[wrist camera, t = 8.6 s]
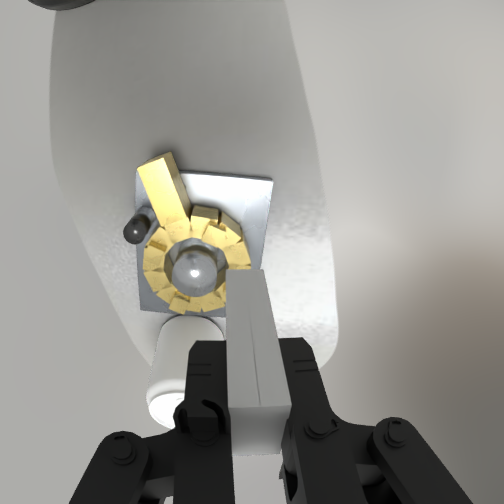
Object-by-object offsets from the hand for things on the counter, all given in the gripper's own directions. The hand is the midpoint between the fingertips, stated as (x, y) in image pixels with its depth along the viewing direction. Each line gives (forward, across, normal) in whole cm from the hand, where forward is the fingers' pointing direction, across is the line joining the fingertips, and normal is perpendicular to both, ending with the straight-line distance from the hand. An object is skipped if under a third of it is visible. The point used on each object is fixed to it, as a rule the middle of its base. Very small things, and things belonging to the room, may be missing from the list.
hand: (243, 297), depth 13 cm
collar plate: (+19, -4, -7) cm, 21 cm away
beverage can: (+19, -5, -19) cm, 28 cm away
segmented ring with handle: (+18, -4, -4) cm, 19 cm away
